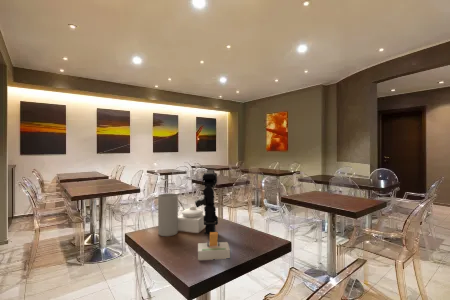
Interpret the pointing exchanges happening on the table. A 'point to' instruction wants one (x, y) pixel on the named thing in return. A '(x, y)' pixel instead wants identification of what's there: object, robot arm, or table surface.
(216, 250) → the box
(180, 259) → the table surface
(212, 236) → the breaker lever
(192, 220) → the butter dish
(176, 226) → the cylinder vase
